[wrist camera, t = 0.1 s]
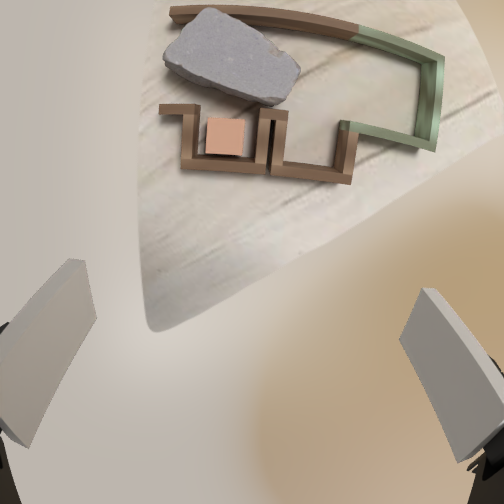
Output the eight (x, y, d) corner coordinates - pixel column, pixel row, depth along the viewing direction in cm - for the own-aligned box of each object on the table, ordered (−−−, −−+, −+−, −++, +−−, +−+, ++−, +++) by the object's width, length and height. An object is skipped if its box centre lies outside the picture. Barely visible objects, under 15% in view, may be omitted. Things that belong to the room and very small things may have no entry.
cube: (212, 117, 33) (207, 117, 29) (245, 119, 33) (245, 119, 29) (210, 149, 35) (205, 153, 31) (242, 151, 35) (241, 155, 31)
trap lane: (178, 16, 27) (170, 6, 23) (428, 59, 28) (444, 56, 25) (166, 162, 35) (156, 168, 31) (411, 190, 37) (425, 198, 33)
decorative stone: (180, 23, 27) (165, 95, 31) (168, 4, 21) (147, 89, 25) (299, 39, 29) (285, 112, 33) (311, 22, 22) (294, 108, 26)
